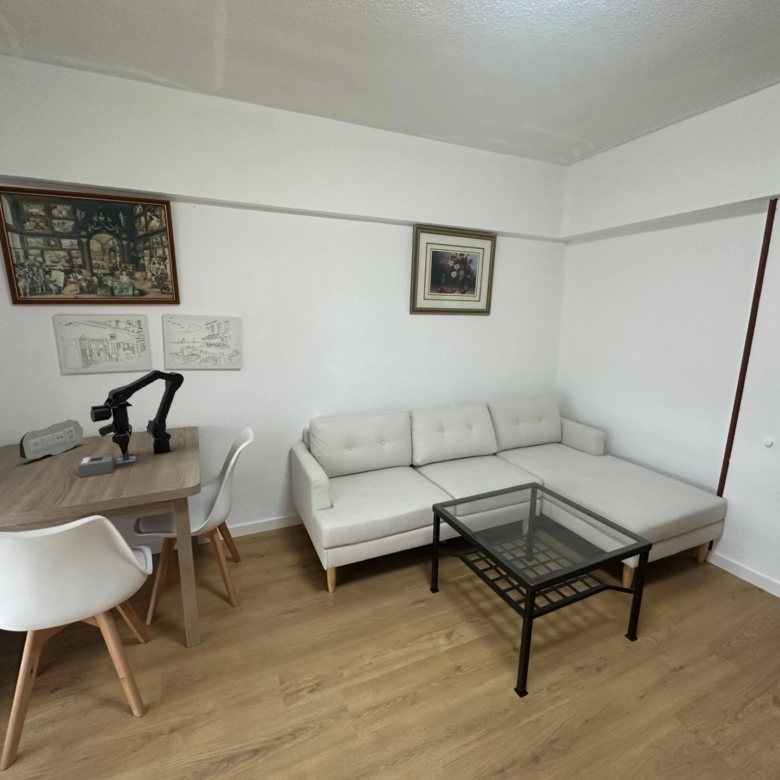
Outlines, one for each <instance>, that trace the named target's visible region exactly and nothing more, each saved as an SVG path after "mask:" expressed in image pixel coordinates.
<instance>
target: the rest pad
mask: <svg viewBox="0 0 780 780" xmlns="http://www.w3.org/2000/svg"><path fill="white" fill-rule="evenodd" d="M129 457H130V459H129V460H125V461H123V457H118V458H117V459H116V462H115V465H121V464H127V463H128V464H129V463H133V462H136V457H137V456H136V455H132V456H131V455H130V456H129Z"/></svg>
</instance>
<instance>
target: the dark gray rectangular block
mask: <svg viewBox="0 0 780 780" xmlns="http://www.w3.org/2000/svg"><path fill="white" fill-rule="evenodd" d="M129 451H130V450H129V446H128V447H127V451H126V454H122V453H121V456H122V457H121V458H123V461H125V460H129V459H130V457H131V456H130V452H129Z"/></svg>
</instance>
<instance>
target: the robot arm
mask: <svg viewBox="0 0 780 780" xmlns="http://www.w3.org/2000/svg"><path fill="white" fill-rule="evenodd" d="M158 380H161V381H162V380H163V381H164V387H165V390H164V392H163V395H162V397H161V401H160V403H159V406H158V408H157V412H156V414H155V417H154V418H153V419H152V420H151V419H149V420H148V422H147V426H146V427H145V428H146V432H147V434H148V435H149V436H151V437H152V439H153V442H152V448H153V452H154V454H155V455H156V454H157V455H158V454H163V453H169V452H171V444H170V440H171V438H172V435H171V433H168V432H167V431H166V429H167V418H168V415H169V412H170V409H171V408H172V407H171V406H172V404H173V401H174V399H175V395H176V392H177V391H178V390H179V389H180V388H181V387H182V385H183V384H184V380H185V377H184V375H183V374H181V373H179V372H174V371H171V372H165V371H161V370H159V369H153V370H151V371H150V372H148V373H147V374H145V375H143V376H141V377H139V378H138V379H135V380H134V381H132V382H130V383H128V384H126V385H122V386H118V387H116V388H114V389H111V390H110V391H108V396H107V398H106V400H105V401H104V403H103V404H102V405H92V406H91V407H90V413H89V415H90V419H91V422H93V423H96V422H97V423H98V422H103V421H109V420H110V419H112V422H111V423H108V424H107V425H104V426H101V427H100V428H98V434H99V435H100V436H101V437H105V436H106V435H109V434H111V433H112V437H111V440H112V441H111V442H112V443H113V444H116V445H117V446H118V447H119V450H120V451H121V455H122V454H126V451H127V447H128V448H129V443H130V441H131V437H132V434H133V426H132V424H130V417H129V414H128V413H129V412H128V407H132V406H133V404H131V403H130V402H129V401H128V400H129V399H131V398H132V396H133V395H134V394H135V393H136V392H138V391H140V390H141V389H144V388H145V387H147V386H148V385H150V384H152V383H154V382H156V381H158Z"/></svg>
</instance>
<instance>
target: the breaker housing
mask: <svg viewBox="0 0 780 780" xmlns="http://www.w3.org/2000/svg"><path fill="white" fill-rule="evenodd" d="M115 459H116V458H115V453H114V452H110V453H103V454H99V455H98V454H97V455H90V456H82V459H81V460H80V461H79V464H78V466H77V467H78V473H79V478H85V477H92V476H98V475H99V476H100V475H105V474H111V473H113V471H114V468H115V465H116V460H115Z"/></svg>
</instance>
